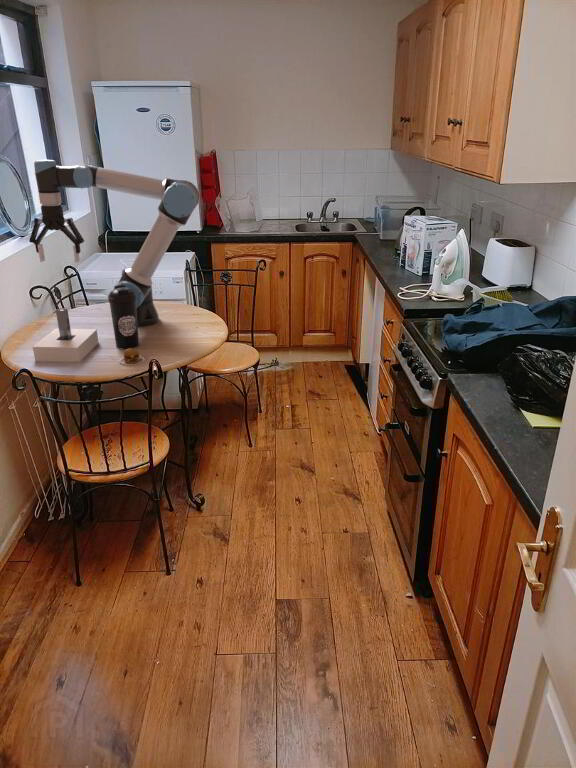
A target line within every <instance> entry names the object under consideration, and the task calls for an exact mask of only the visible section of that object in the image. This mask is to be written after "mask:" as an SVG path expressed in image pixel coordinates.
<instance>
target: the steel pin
mask: <svg viewBox="0 0 576 768" xmlns="http://www.w3.org/2000/svg"><path fill="white" fill-rule="evenodd" d="M55 314H56V315H55V316H56V319H57V320H56V321H57V326H58V328H59V334H60V340H72V335H71V329H72V328H71V323H70V318H69V317H70V316H69V310H68V308H64V307H63V308H57V309H55Z"/></svg>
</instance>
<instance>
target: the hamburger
mask: <svg viewBox="0 0 576 768" xmlns="http://www.w3.org/2000/svg"><path fill="white" fill-rule="evenodd" d="M140 359H141V360H142V361H141V362H139V360H140ZM123 361H124V362H125V363H126V364H125V363H124V362H123ZM144 361H145V357H144V356H141V355H140V353H139V351H138V350H137V348H128V349H124V351H123V355H122V357H121V358H120V359H119V360H118V362H119V364H121V365H123V366H124V365H125V366H128V365H131V366H134V365H138V364H141V363H143V362H144Z"/></svg>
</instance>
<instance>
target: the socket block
mask: <svg viewBox="0 0 576 768" xmlns="http://www.w3.org/2000/svg"><path fill="white" fill-rule="evenodd" d="M70 329H71V335H72V340H60V334H59V327H58V328H54V329H53V330H52V331H50V332H49V333H48V334H47V335H46V336H44V337H43V338H41V339H40V340H39V341H37V343H36V344H34V345H33V346H32V351H33V356H34V360H35V361H34V362H54V363H55V362H60V363H61V362H62V363H80V362H82V361H83V359H84V358H85V357H86V356H87V355H88V354H89V353H90V352H91V351H92V350H93V349H94V348H95V347H96V346H97V345H98V344H99V336H98V329H91V328H70Z"/></svg>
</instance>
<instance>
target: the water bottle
mask: <svg viewBox="0 0 576 768" xmlns="http://www.w3.org/2000/svg"><path fill="white" fill-rule="evenodd" d="M115 285H116V284H115ZM115 285H114V287H113V289H112V290H111V291H110V292H109V294H108V295H107V301H108V303H109V306H110V314H111V321H112V327H113V333H114V334H113V335H114V340H115V347H116V348H117V349H119V350H126V349H128V348H134V349H137V347H139V346H140V341H139V340H140V339H139V328H138V327H139V326H138V324H137V310H136V300H137V298H136V294H135V293H134V292H133V291H132V290H130V289H129V288H126V287H125V285H116V286H115ZM114 289H115V290H114Z"/></svg>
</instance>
